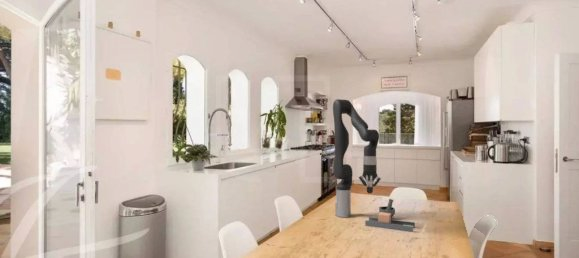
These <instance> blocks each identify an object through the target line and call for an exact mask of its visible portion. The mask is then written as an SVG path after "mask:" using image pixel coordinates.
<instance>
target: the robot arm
mask: <svg viewBox="0 0 579 258" xmlns="http://www.w3.org/2000/svg"><path fill="white" fill-rule="evenodd" d="M332 114H333V123H334V125H333V126H334V161H333V163H334V164H333V175H334V177H335V178H336V180H340V182H338V183H337V184H336V195H335V196H336V197H335V199H336V200H335V201H334V203H335V205H334V206H335V207H334V208H335V209H334V213H335V214H334V215H335V217H338V218H350V217H351V215H352V211H351V209H352V207H351V206H352V205H351V203H352V199H351V197H352V194H351V193H352V191H351V189H352V186H353V168H352V166H351V164H345V163H344V159H345V154H346V152H347V151H348V148H349V144H350V134H349V131H348V129H347V127H346V126H345V124H344V122H343V121H344V120H343V115H344V114H345V115H348V116H349V117H350V123H351V125H352V126H353V127H354V129H355V130H356V131H357V133H358V135H359V137H360V139H361V140H362V141H363V142H368V144H367V145H365V146H364V147H363V161H362V163H363V167H362V171H363V172H362V175H360V176H358V179H359V181H360V182H361V183H362V184H363V186H365V187H366V192H367V194H373V191H374V187H376V186H377V185H378V183H379V182H380V181H381V180H382V178H381V177H379V176H378V173H377V170H378V169H377V168H378V167H377V159H378V158H377V147H378V143H379V140H380V134H379V133H380V132H379V131H378V130H377V129H369V125H368V122H366V121H365V120H364V119H363V118H362V117H361V116H360V115H359V113H358V111H357V110H356V108H355V106H354V105H353V104H352V103H351V101H350V100H348V99H340V98H339V99H335V100H334V101H333V103H332Z"/></svg>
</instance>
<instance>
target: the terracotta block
mask: <svg viewBox="0 0 579 258" xmlns="http://www.w3.org/2000/svg"><path fill="white" fill-rule="evenodd" d="M377 218H378V222H383V223H391V220H392V219H391V213H384V212H379V213H378V214H377Z"/></svg>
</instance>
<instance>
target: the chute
mask: <svg viewBox="0 0 579 258" xmlns="http://www.w3.org/2000/svg"><path fill="white" fill-rule="evenodd" d="M364 223H365V225H364V226H366V227H371V228H373V227H374V228H380V229H387V230H392V231H393V230H394V231H395V230H396V231H400V232H401V231H402V232H408V233H413V232H414V229H416V222H415V221H411V220H409V221H408V220H398V219H391V223H383V222H378V217H373V216H368V220H365V222H364Z"/></svg>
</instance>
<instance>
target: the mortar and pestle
mask: <svg viewBox="0 0 579 258" xmlns="http://www.w3.org/2000/svg"><path fill="white" fill-rule="evenodd" d="M393 202H394V199H392V198H389V199H388V203H387V206H379V207H378V212H379V213H380V212H384V213H391V220H393V219H392V218H393V217H394V216H395V214H396V208H395V207H392V206H393Z"/></svg>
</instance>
